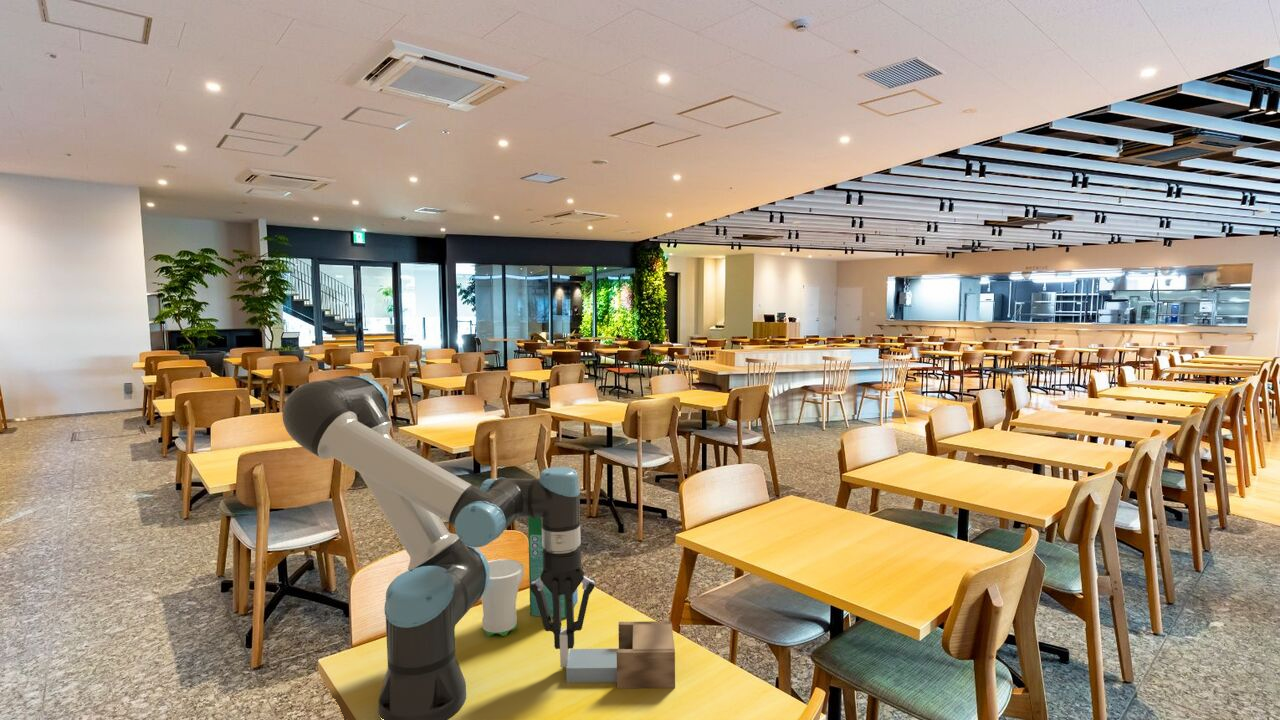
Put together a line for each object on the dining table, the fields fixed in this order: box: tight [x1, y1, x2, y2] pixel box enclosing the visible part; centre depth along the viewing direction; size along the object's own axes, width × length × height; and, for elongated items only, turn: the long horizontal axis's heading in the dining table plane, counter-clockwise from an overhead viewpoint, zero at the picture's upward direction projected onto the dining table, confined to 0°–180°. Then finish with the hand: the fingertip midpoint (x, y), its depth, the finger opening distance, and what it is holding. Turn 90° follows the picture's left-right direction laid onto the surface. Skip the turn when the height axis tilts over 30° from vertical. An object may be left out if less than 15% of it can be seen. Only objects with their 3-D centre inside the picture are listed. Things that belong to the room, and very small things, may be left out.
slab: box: [565, 648, 618, 683], centre depth 124 cm, size 11×7×3 cm, turn 90°
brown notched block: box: [616, 620, 676, 689], centre depth 124 cm, size 11×12×7 cm
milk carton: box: [527, 518, 578, 619], centre depth 150 cm, size 9×9×25 cm
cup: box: [480, 558, 525, 637], centre depth 140 cm, size 11×11×14 cm
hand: (565, 663), depth 124 cm, fingers closed
